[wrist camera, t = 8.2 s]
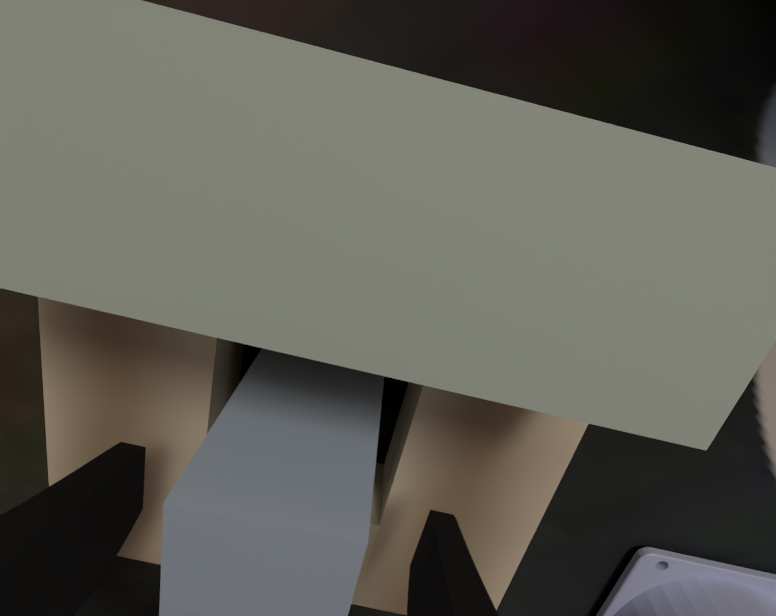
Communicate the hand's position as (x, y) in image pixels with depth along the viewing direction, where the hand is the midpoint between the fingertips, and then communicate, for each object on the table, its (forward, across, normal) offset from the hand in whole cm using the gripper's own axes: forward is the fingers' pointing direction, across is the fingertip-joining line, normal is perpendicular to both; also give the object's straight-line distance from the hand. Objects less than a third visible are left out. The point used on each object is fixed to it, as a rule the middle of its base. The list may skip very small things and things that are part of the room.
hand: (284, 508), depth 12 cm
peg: (+6, 0, 0) cm, 6 cm away
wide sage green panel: (+6, 0, -8) cm, 10 cm away
